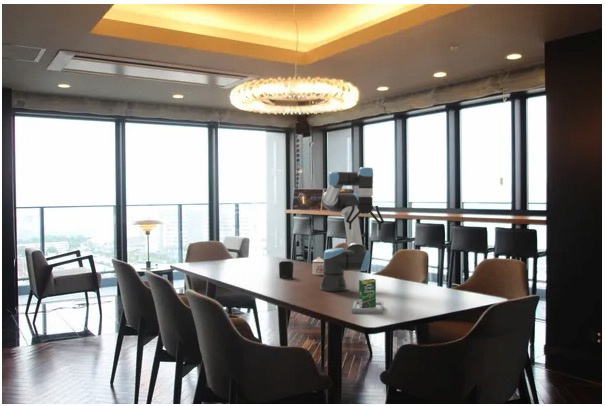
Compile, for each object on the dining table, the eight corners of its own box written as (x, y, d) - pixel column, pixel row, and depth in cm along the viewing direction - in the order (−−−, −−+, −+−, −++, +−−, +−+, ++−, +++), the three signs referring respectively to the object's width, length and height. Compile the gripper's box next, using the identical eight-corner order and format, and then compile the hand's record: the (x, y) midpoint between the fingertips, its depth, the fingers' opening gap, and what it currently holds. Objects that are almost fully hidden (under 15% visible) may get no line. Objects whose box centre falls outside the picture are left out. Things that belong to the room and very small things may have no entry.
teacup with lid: (316, 275, 346) (316, 258, 345) (309, 273, 354) (310, 256, 353) (331, 274, 351) (331, 257, 351) (325, 272, 359) (325, 255, 359)
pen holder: (275, 277, 336) (276, 262, 336) (286, 275, 343) (286, 260, 342) (286, 279, 329) (286, 263, 329) (296, 277, 336) (296, 262, 336)
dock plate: (351, 312, 237) (351, 308, 237) (354, 305, 253) (354, 301, 252) (382, 314, 234) (382, 309, 234) (383, 307, 250) (383, 302, 250)
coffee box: (361, 308, 241) (362, 280, 240) (358, 307, 243) (358, 279, 243) (376, 307, 244) (376, 279, 244) (372, 305, 247) (373, 278, 246)
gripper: (341, 196, 275) (340, 235, 275) (389, 196, 271) (388, 237, 271) (342, 196, 282) (342, 234, 282) (389, 196, 278) (388, 236, 278)
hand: (364, 236), depth 277 cm, fingers open, 13 cm apart
